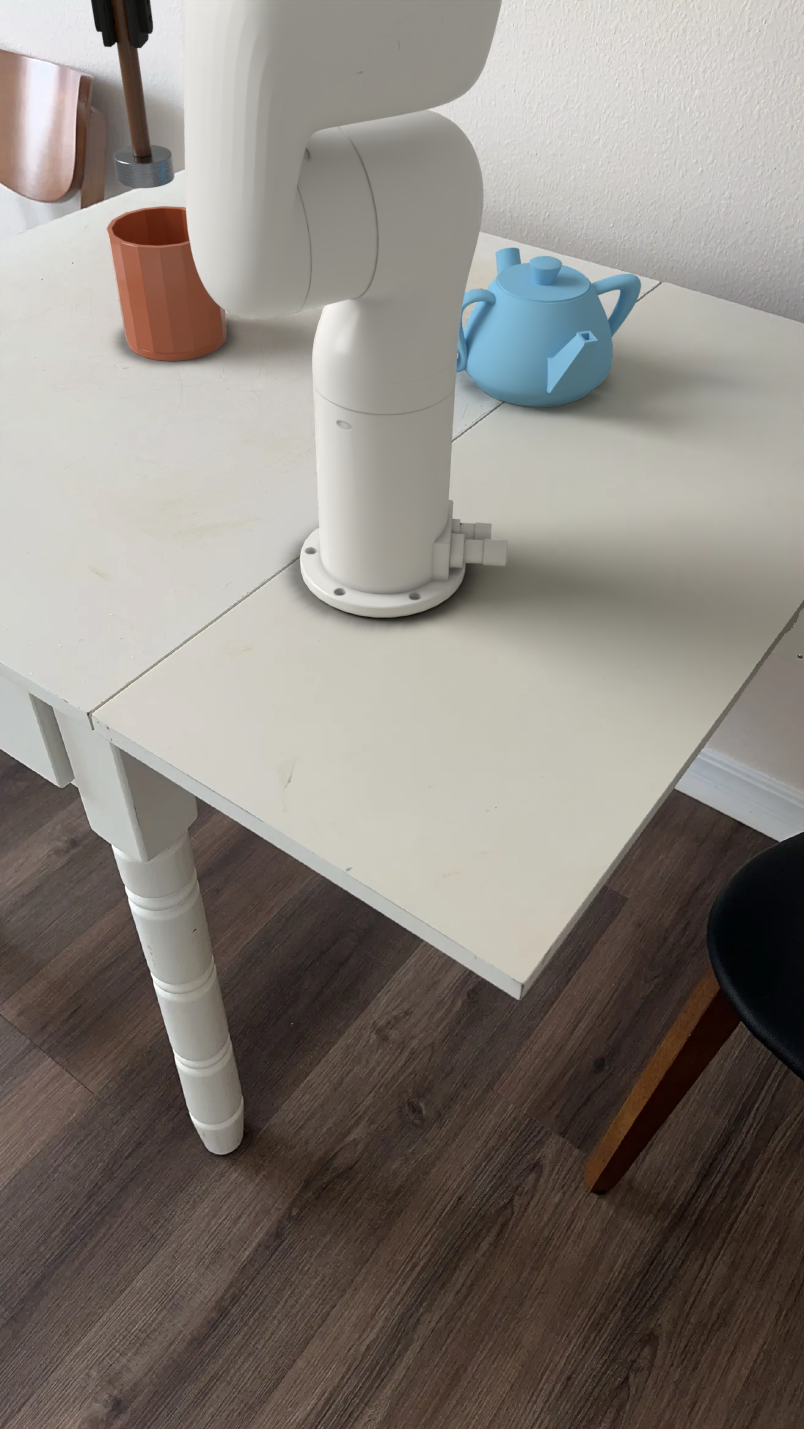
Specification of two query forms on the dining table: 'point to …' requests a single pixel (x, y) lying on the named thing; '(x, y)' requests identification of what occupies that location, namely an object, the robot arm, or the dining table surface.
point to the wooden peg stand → (136, 118)
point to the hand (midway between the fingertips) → (126, 41)
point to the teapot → (541, 331)
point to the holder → (162, 287)
